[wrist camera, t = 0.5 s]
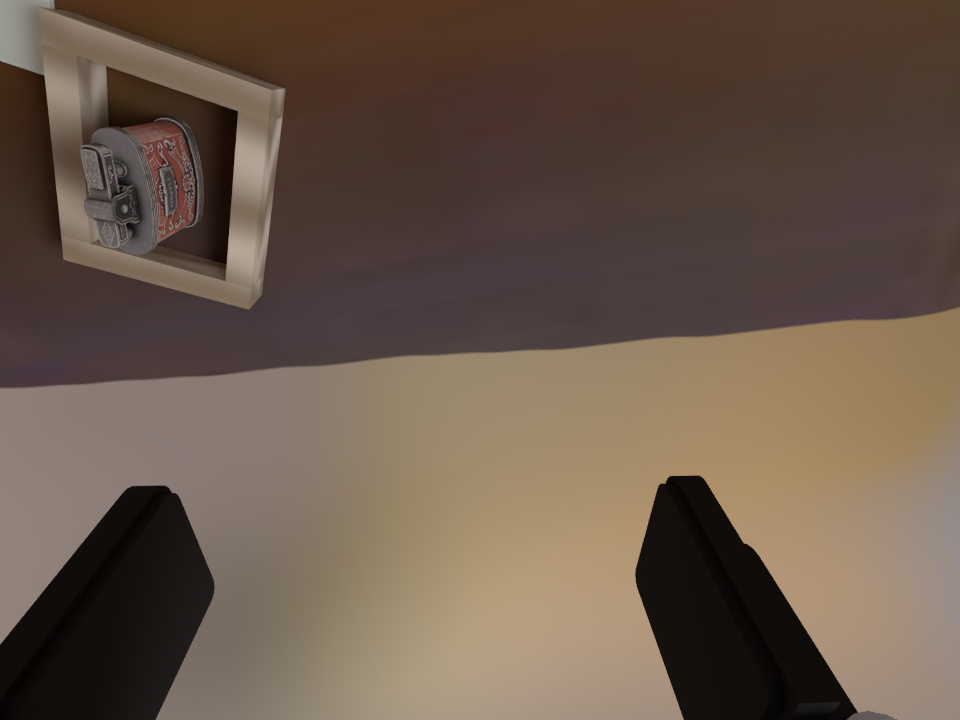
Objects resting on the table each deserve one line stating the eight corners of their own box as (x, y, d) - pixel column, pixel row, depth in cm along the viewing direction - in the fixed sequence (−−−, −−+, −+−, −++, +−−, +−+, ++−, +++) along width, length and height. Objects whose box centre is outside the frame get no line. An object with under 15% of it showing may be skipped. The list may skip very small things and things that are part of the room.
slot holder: (71, 11, 32) (37, 6, 30) (285, 88, 35) (271, 90, 32) (89, 247, 41) (63, 259, 38) (261, 295, 43) (248, 309, 41)
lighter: (208, 228, 40) (139, 271, 32) (165, 220, 40) (83, 263, 31) (197, 121, 36) (114, 139, 27) (148, 112, 36) (49, 127, 27)
